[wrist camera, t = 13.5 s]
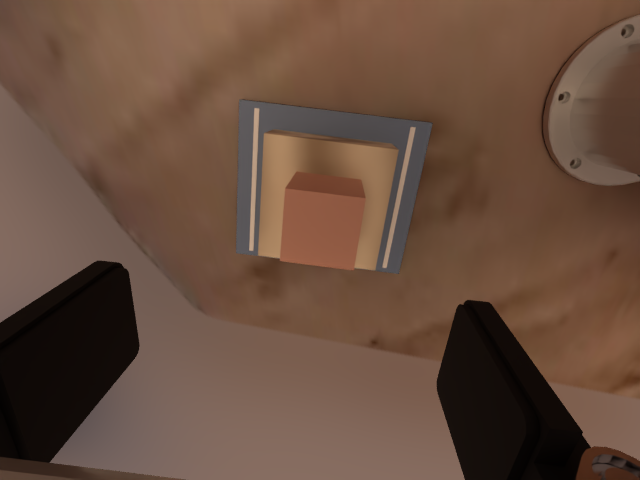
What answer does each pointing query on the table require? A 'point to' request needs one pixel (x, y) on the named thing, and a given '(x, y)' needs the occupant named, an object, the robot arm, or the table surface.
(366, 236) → the maple base block
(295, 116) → the board
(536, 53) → the table surface
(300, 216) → the terracotta block
